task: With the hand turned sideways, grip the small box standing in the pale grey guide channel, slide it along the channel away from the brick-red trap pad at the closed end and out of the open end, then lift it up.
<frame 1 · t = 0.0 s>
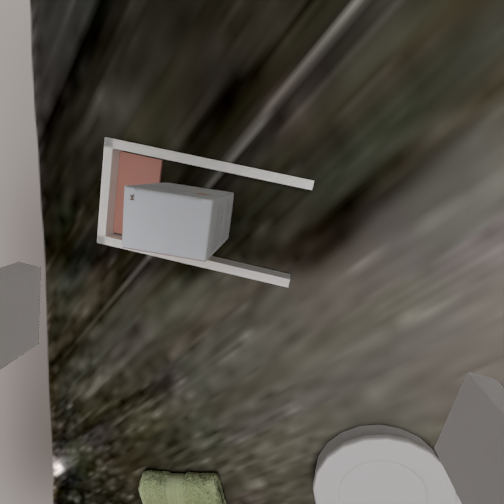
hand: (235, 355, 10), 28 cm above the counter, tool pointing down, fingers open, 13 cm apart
small box: (199, 210, 38), resting in guide channel
lid: (386, 476, 44), on the counter
trap pad: (137, 197, 38), resting in guide channel
guide channel: (182, 207, 38), on the counter
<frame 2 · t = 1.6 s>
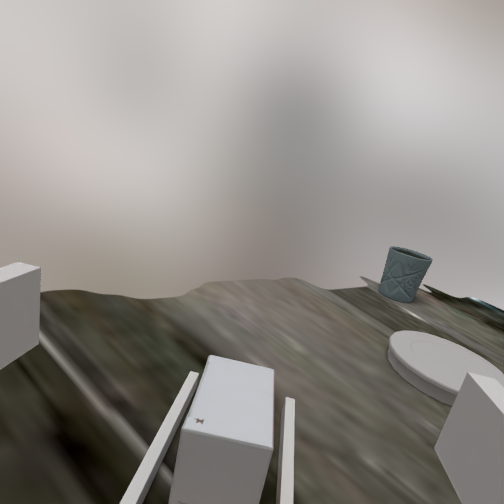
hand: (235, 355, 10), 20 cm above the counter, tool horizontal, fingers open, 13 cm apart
drinking glass: (395, 296, 85), on the counter
lid: (437, 372, 53), on the counter
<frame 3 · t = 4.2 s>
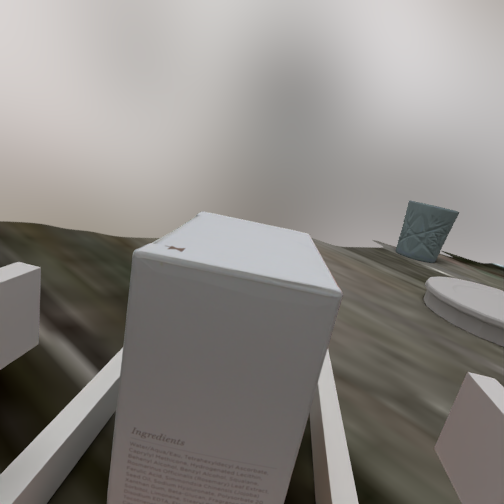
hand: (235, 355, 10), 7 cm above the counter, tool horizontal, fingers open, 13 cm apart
small box: (204, 464, 15), resting in guide channel
drinking glass: (415, 257, 75), on the counter
lid: (486, 321, 43), on the counter
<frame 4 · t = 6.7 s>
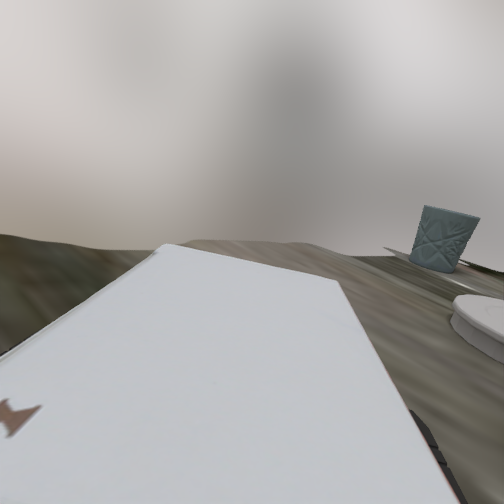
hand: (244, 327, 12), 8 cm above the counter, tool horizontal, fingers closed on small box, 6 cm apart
drinking glass: (431, 266, 69), on the counter
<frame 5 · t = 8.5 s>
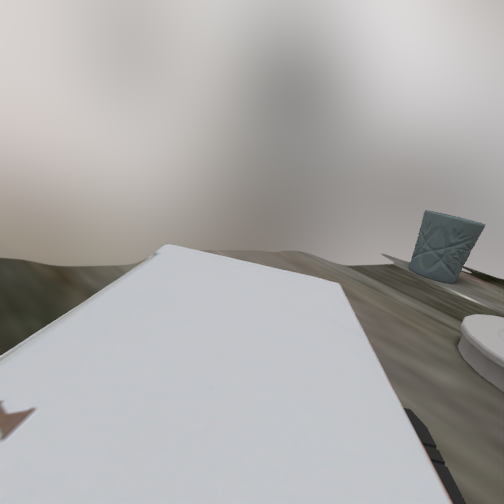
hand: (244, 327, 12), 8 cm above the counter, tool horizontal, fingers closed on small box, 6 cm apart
drinking glass: (432, 276, 65), on the counter
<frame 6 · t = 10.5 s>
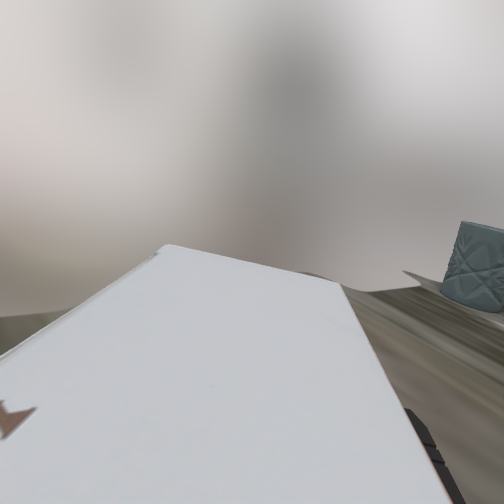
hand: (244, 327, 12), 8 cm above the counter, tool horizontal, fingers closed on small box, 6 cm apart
drinking glass: (469, 301, 52), on the counter
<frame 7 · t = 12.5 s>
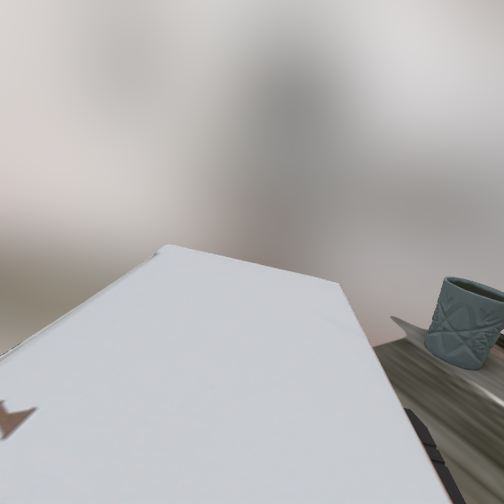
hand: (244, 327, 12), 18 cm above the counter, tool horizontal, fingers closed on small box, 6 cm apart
drinking glass: (452, 355, 54), on the counter
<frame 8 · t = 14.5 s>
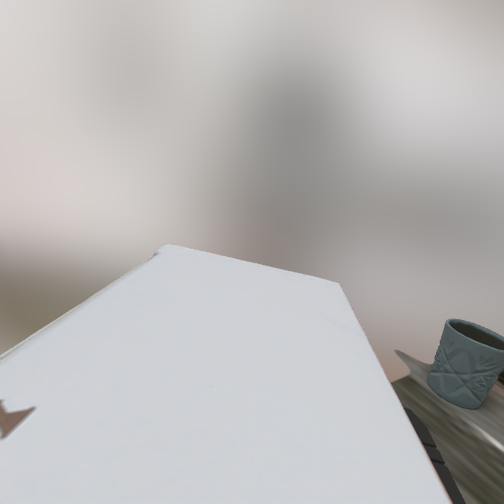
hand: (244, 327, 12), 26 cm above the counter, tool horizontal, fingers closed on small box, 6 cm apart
drinking glass: (454, 393, 58), on the counter
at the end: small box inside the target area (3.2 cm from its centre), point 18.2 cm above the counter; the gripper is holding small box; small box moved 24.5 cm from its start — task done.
